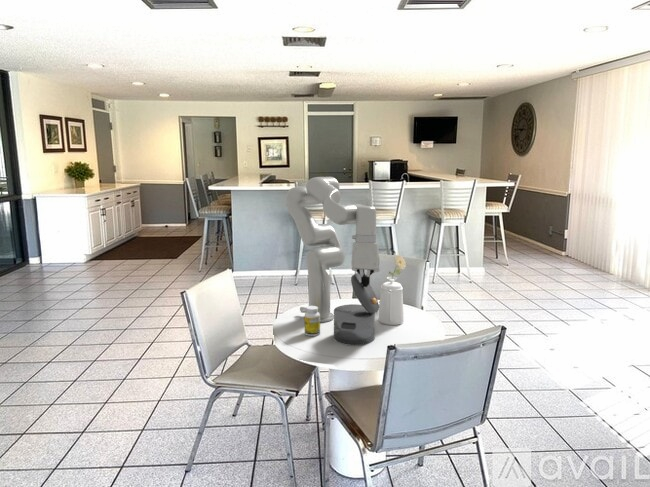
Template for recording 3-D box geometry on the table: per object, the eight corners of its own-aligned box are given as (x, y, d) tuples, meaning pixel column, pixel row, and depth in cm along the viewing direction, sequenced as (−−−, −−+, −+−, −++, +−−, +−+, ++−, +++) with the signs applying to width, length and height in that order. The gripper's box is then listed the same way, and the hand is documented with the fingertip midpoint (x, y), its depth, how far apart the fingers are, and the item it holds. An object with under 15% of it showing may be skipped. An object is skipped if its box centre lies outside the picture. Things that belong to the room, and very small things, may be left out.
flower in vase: (388, 311, 218) (389, 258, 214) (374, 304, 228) (375, 253, 224) (410, 306, 225) (412, 255, 220) (396, 300, 234) (397, 251, 230)
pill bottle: (304, 331, 193) (304, 305, 191) (319, 330, 194) (319, 304, 192) (304, 336, 187) (304, 310, 185) (320, 336, 188) (320, 309, 186)
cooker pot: (326, 345, 179) (326, 317, 177) (341, 326, 199) (341, 301, 197) (368, 349, 174) (369, 321, 172) (379, 330, 194) (379, 304, 192)
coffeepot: (375, 331, 193) (376, 286, 190) (380, 312, 217) (381, 272, 214) (402, 333, 191) (403, 288, 188) (404, 313, 215) (405, 273, 212)
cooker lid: (346, 280, 175) (353, 277, 174) (357, 270, 190) (363, 267, 189) (370, 319, 174) (376, 315, 173) (378, 306, 190) (384, 302, 189)
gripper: (344, 239, 177) (344, 287, 180) (383, 241, 173) (383, 290, 176) (348, 236, 184) (348, 282, 187) (387, 238, 180) (386, 285, 183)
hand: (365, 286), depth 181 cm, fingers closed
